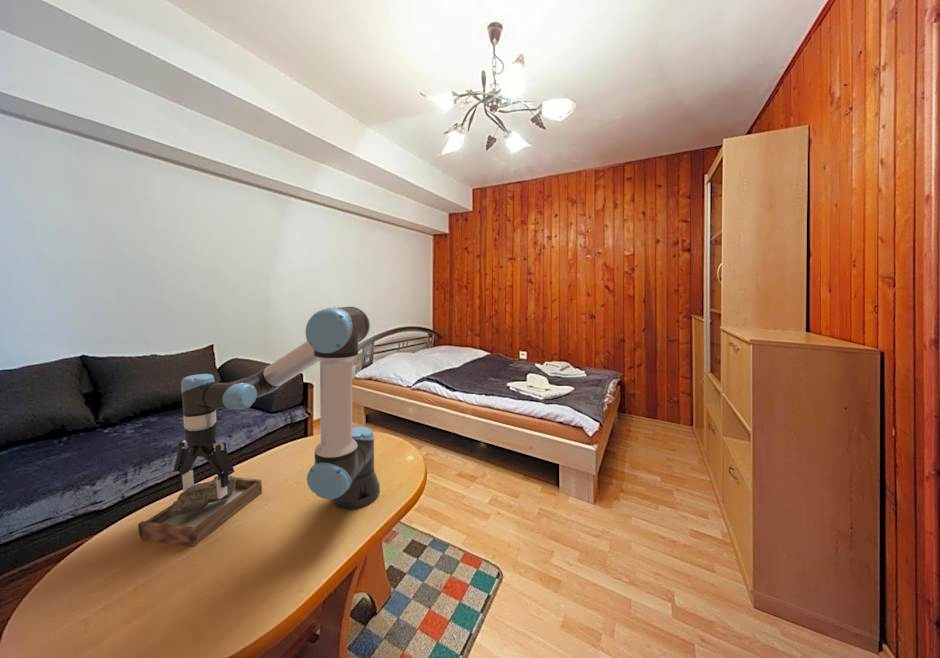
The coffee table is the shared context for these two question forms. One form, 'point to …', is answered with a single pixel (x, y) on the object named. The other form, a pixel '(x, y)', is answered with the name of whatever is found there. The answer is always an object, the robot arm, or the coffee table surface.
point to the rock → (199, 497)
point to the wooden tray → (199, 517)
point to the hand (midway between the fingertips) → (205, 494)
